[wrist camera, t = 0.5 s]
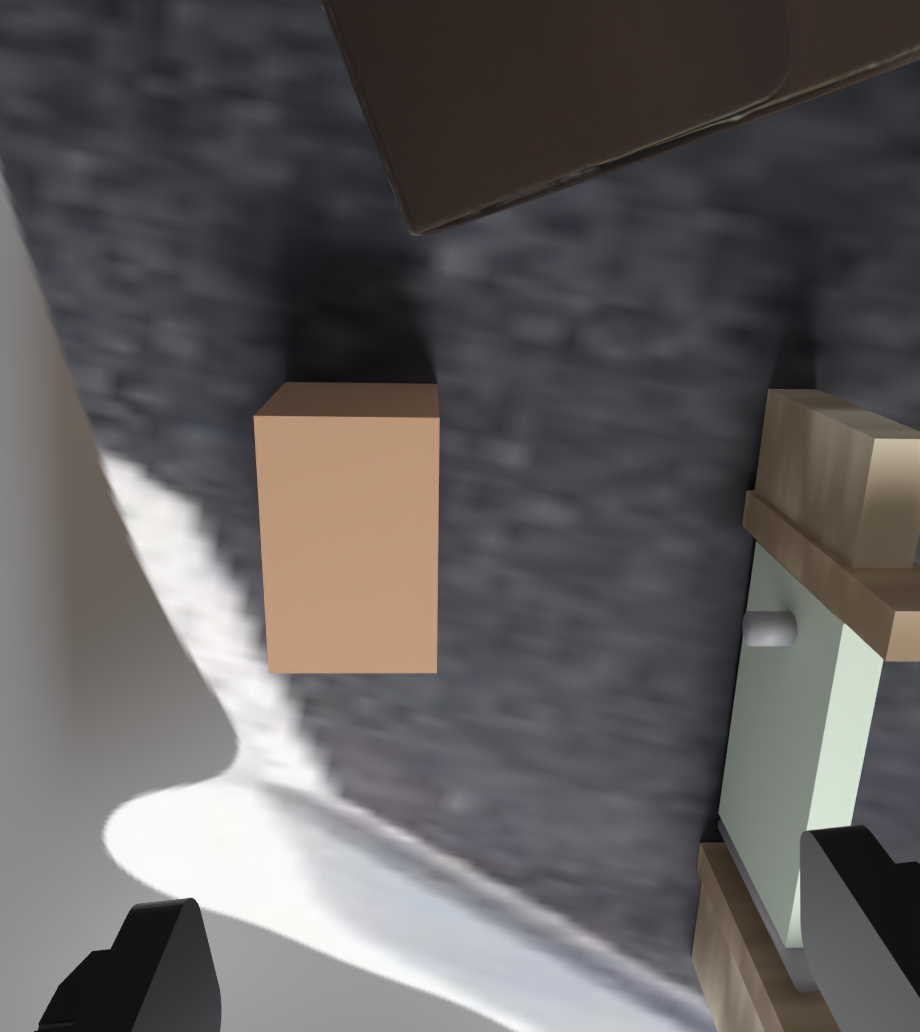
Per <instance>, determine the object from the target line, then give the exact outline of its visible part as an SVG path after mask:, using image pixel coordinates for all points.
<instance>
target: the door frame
mask: <svg viewBox="0 0 920 1032" xmlns="http://www.w3.org/2000/svg"><path fill="white" fill-rule="evenodd" d="M742 527H743V528H744V529H746V530H747V531H748V532H749V533H750V534H751V535H752V536H753V537H754V538H755V539H756V540H757V541H758V542H759V543H760V544H761V545H763V546H764V547H765V548H766V549H767V550H768V551H769V552H770V553H771V554H772V555H773V556H774V557H775V558H776V559H777V560H778V561H779V562H781V563H782V564H783V565H784V566H785V567H786V568H787V569H788V570H789V571H790V572H791V573H792V574H793V575H794V576H795V577H796V578H798V579H799V580H800V581H801V582H802V583H803V584H804V585H805V586H806V587H807V588H808V589H809V590H810V591H811V592H812V593H813V594H815V595H816V596H817V597H818V598H819V599H820V600H821V601H822V602H823V603H824V604H825V605H826V606H827V607H828V608H829V609H830V610H831V611H833V612H834V613H835V614H836V615H837V616H838V617H839V618H840V619H841V620H842V621H843V622H844V623H845V624H846V625H847V626H848V627H850V628H851V629H852V630H853V631H854V632H855V633H856V634H857V635H858V636H859V637H860V638H861V639H862V640H863V641H864V642H865V643H867V644H868V645H869V646H870V647H871V648H872V649H873V650H874V651H875V652H876V653H877V654H878V655H879V656H880V657H881V658H882V659H883V660H885V661H920V566H919V565H917V564H916V563H914V558H915V553H916V548H917V543H918V538H919V533H920V432H919V431H917V430H915V429H912V428H910V427H907V426H905V425H902V424H900V423H897V422H895V421H893V420H890V419H888V418H885V417H883V416H880V415H878V414H875V413H873V412H871V411H868V410H866V409H863V408H861V407H858V406H856V405H853V404H851V403H849V402H846V401H844V400H841V399H839V398H836V397H834V396H831V395H829V394H827V393H824V392H822V391H819V390H813V389H768V395H767V402H766V409H765V417H764V424H763V432H762V439H761V446H760V454H759V461H758V469H757V476H756V483H755V490H747V492H746V500H745V507H744V515H743V522H742ZM697 872H698V874H699V876H700V879H701V881H702V883H701V890H700V897H699V905H698V912H697V920H696V927H695V934H694V942H693V949H692V957H691V959H692V962H693V965H694V968H695V971H696V973H697V976H698V979H699V982H700V984H701V987H702V990H703V993H704V995H705V998H706V1001H707V1004H708V1006H709V1009H710V1012H711V1015H712V1018H713V1020H714V1023H715V1026H716V1029H717V1031H718V1032H841V1030H840V1028H839V1026H838V1024H837V1023H836V1021H835V1019H834V1017H833V1015H832V1013H831V1011H830V1009H829V1007H828V1005H827V1003H826V1001H825V1000H824V998H823V996H822V994H821V992H820V990H819V989H818V990H817V991H815V992H811V993H803V992H800V991H798V990H797V989H796V988H795V986H794V984H793V982H792V980H791V978H790V976H789V974H788V972H787V969H786V967H785V965H784V963H783V961H782V959H781V957H780V955H779V953H778V951H777V949H776V947H775V945H774V943H773V941H772V939H771V936H770V934H769V932H768V930H767V928H766V926H765V924H764V922H763V920H762V918H761V916H760V914H759V912H758V910H757V908H756V906H755V903H754V901H753V899H752V897H751V895H750V893H749V891H748V889H747V887H746V885H745V883H744V881H743V879H742V877H741V875H740V873H739V870H738V868H737V866H736V864H735V862H734V860H733V858H732V856H731V854H730V852H729V850H728V848H727V846H726V844H725V842H705V843H700V847H699V855H698V863H697Z"/></svg>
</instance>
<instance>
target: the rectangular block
mask: <svg viewBox="0 0 920 1032" xmlns="http://www.w3.org/2000/svg"><path fill="white" fill-rule="evenodd" d="M439 419H440V418H439V401H438V384H410V383H329V382H285V383H284V384H283V385H282V386H281V387H280V388H279V389H278V391H277V392H276V393H275V394H274V395H273V396H272V397H271V398H270V399H269V400H268V401H267V402H266V403H265V404H264V405H263V406H262V407H261V409H260V410H259V411H258V412H257V413H256V414H255V415H254V431H255V448H256V465H257V482H258V499H259V516H260V533H261V550H262V567H263V583H264V600H265V617H266V634H267V651H268V668H269V673H437V601H438V510H439Z"/></svg>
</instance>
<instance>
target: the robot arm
mask: <svg viewBox="0 0 920 1032" xmlns="http://www.w3.org/2000/svg"><path fill="white" fill-rule="evenodd" d="M800 925H801V936H802V942H803V947H804V951H805V955H806V959H807V962H808V965H809V968H810V971H811V973H812V976H813V978H814V980H815V982H816V984H817V986H818V988H819V990H820V992H821V994H822V996H823V998H824V1000H825V1001H826V1003H827V1005H828V1007H829V1009H830V1011H831V1013H832V1015H833V1017H834V1019H835V1021H836V1023H837V1024H838V1026H839V1028H840V1030H841V1032H920V864H919V863H918V862H907V863H898V864H895V863H894V862H893V860H892V859H891V858H890V857H889V855H888V854H887V853H886V851H885V850H884V849H883V847H882V846H881V845H880V843H879V842H878V841H877V839H876V838H875V837H874V835H873V834H872V833H871V832H870V831H869V829H868V828H866V827H865V826H863V825H852V826H843V827H834V828H825V829H817V830H808V831H804V832H803V833H802V835H801V838H800ZM220 1025H221V995H220V989H219V984H218V980H217V976H216V972H215V968H214V964H213V960H212V956H211V952H210V947H209V943H208V939H207V935H206V931H205V927H204V923H203V919H202V915H201V911H200V908H199V905H198V903H197V902H196V900H195V899H193V898H185V899H176V900H168V901H159V902H150V903H141V904H136V905H134V906H133V907H132V908H131V910H130V911H129V913H128V915H127V917H126V919H125V921H124V923H123V925H122V927H121V929H120V931H119V933H118V935H117V937H116V939H115V941H114V943H113V945H112V947H111V949H108V950H99V951H92V952H91V953H90V954H89V955H88V956H87V957H86V958H85V959H84V960H83V961H82V963H80V965H78V967H76V969H75V970H74V971H73V972H72V973H71V974H70V975H69V976H68V977H67V978H66V979H65V980H64V981H63V982H62V983H61V984H60V985H59V986H58V988H57V990H56V992H55V994H54V996H53V997H52V999H51V1001H50V1003H49V1005H48V1007H47V1009H46V1011H45V1012H44V1014H43V1016H42V1018H41V1020H40V1022H39V1028H38V1031H34V1032H220Z"/></svg>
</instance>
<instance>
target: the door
mask: <svg viewBox="0 0 920 1032" xmlns="http://www.w3.org/2000/svg"><path fill="white" fill-rule="evenodd" d="M742 631H743V640H742V647H741V654H740V661H739V669H738V676H737V683H736V690H735V697H734V705H733V712H732V719H731V726H730V733H729V741H728V748H727V755H726V762H725V770H724V777H723V784H722V791H721V798H720V806H719V815H720V817H721V818H720V820H719V821H718V829H719V831H720V833H721V835H722V837H723V840H724V842H725V844H726V846H727V848H728V850H729V852H730V854H731V856H732V858H733V860H734V862H735V864H736V866H737V868H738V870H739V873H740V875H741V877H742V879H743V881H744V883H745V885H746V887H747V889H748V891H749V893H750V895H751V897H752V899H753V901H754V903H755V906H756V908H757V910H758V912H759V914H760V916H761V918H762V920H763V922H764V924H765V926H766V928H767V930H768V932H769V934H770V936H771V939H772V941H773V943H774V945H775V947H776V949H777V951H778V953H779V955H780V957H781V959H782V961H783V963H784V965H785V967H786V969H787V972H788V974H789V976H790V978H791V980H792V982H793V984H794V986H795V988H796V989H797V990H798V991H800V992H803V993H811V992H815V991H817V990H818V989H819V988H818V986H817V984H816V982H815V980H814V978H813V976H812V973H811V971H810V968H809V965H808V962H807V959H806V955H805V951H804V947H803V942H802V936H801V925H800V838H801V835H802V833H803V832H804V831H808V830H817V829H825V828H834V827H843V826H850V825H851V820H852V815H853V810H854V805H855V800H856V795H857V790H858V785H859V780H860V775H861V770H862V765H863V760H864V755H865V749H866V744H867V739H868V734H869V729H870V724H871V719H872V714H873V709H874V704H875V699H876V694H877V689H878V684H879V679H880V674H881V669H882V664H883V659H882V658H881V657H880V656H879V655H878V654H877V653H876V652H875V651H874V650H873V649H872V648H871V647H870V646H869V645H868V644H867V643H865V642H864V641H863V640H862V639H861V638H860V637H859V636H858V635H857V634H856V633H855V632H854V631H853V630H852V629H851V628H850V627H848V626H847V625H846V624H845V623H844V622H843V621H842V620H841V619H840V618H839V617H838V616H837V615H836V614H835V613H834V612H833V611H831V610H830V609H829V608H828V607H827V606H826V605H825V604H824V603H823V602H822V601H821V600H820V599H819V598H818V597H817V596H816V595H815V594H813V593H812V592H811V591H810V590H809V589H808V588H807V587H806V586H805V585H804V584H803V583H802V582H801V581H800V580H799V579H798V578H796V577H795V576H794V575H793V574H792V573H791V572H790V571H789V570H788V569H787V568H786V567H785V566H784V565H783V564H782V563H781V562H779V561H778V560H777V559H776V558H775V557H774V556H773V555H772V554H771V553H770V552H769V551H768V550H767V549H766V548H765V547H764V546H763V545H761V544H760V543H759V542H758V541H756V546H755V553H754V560H753V568H752V575H751V582H750V589H749V596H748V604H747V611H746V613H745V614H744V617H743V623H742Z"/></svg>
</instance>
